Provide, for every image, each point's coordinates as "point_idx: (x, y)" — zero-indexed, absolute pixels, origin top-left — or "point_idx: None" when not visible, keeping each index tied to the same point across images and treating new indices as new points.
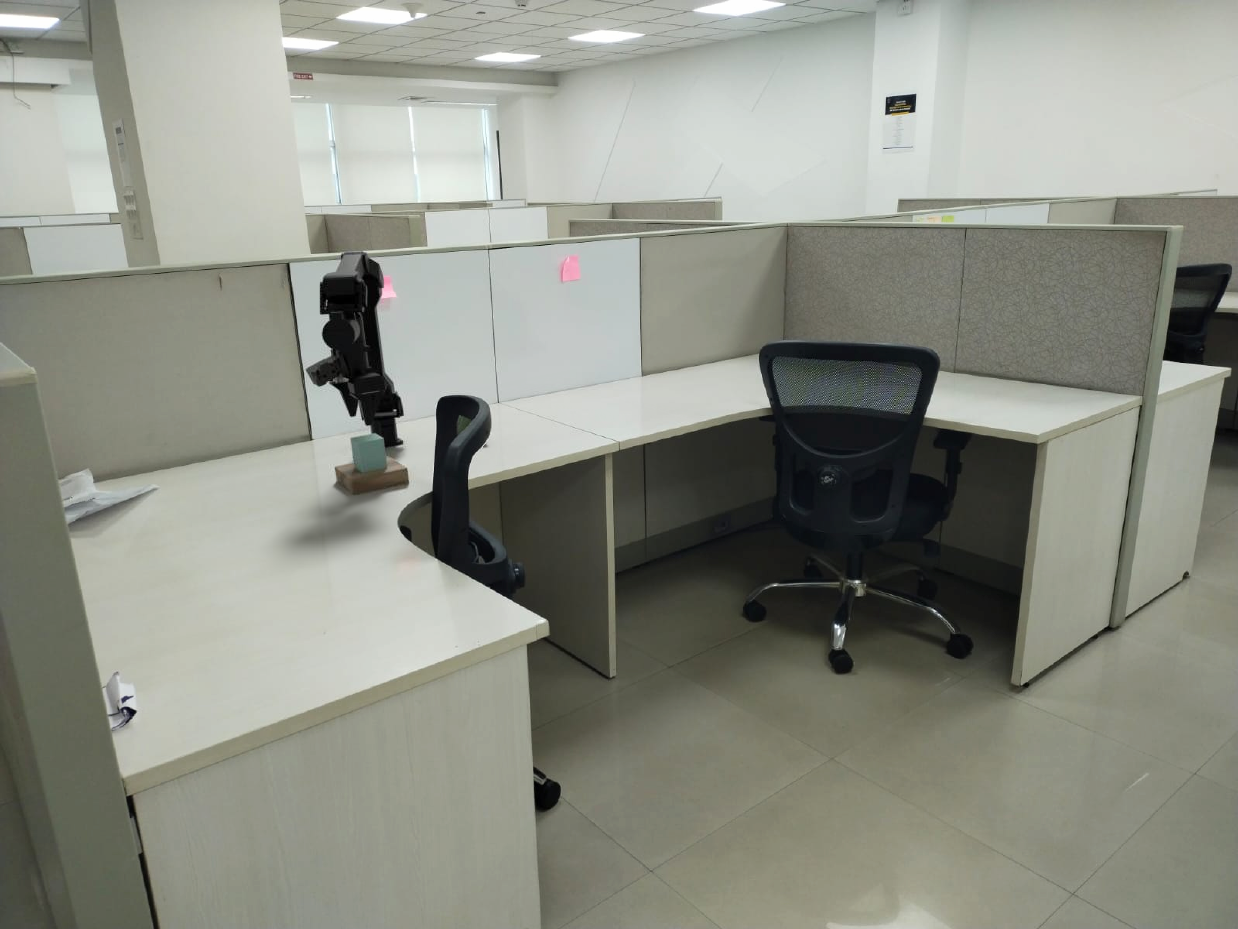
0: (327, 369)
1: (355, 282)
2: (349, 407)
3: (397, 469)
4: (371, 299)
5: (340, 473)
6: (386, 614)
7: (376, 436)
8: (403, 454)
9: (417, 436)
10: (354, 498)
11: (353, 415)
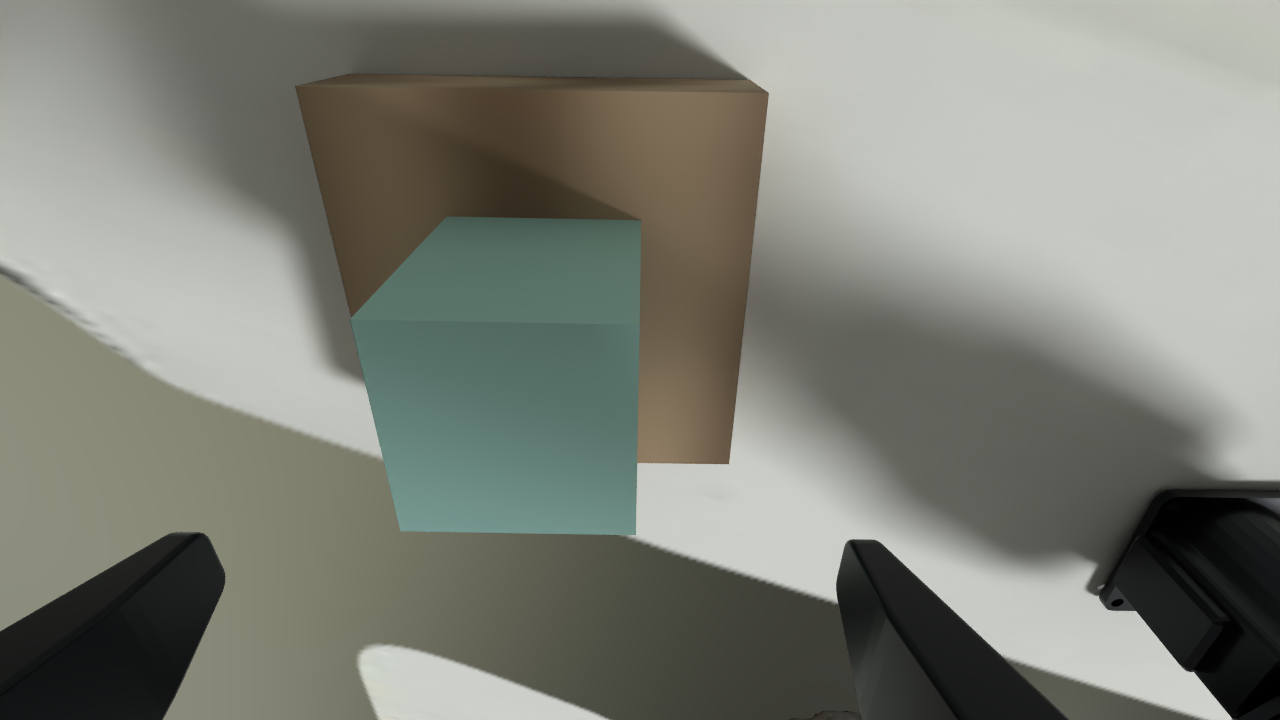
0: None
1: None
2: (900, 669)
3: None
4: None
5: (613, 88)
6: None
7: (510, 511)
8: (922, 540)
9: (1135, 665)
10: (271, 48)
11: (845, 578)
